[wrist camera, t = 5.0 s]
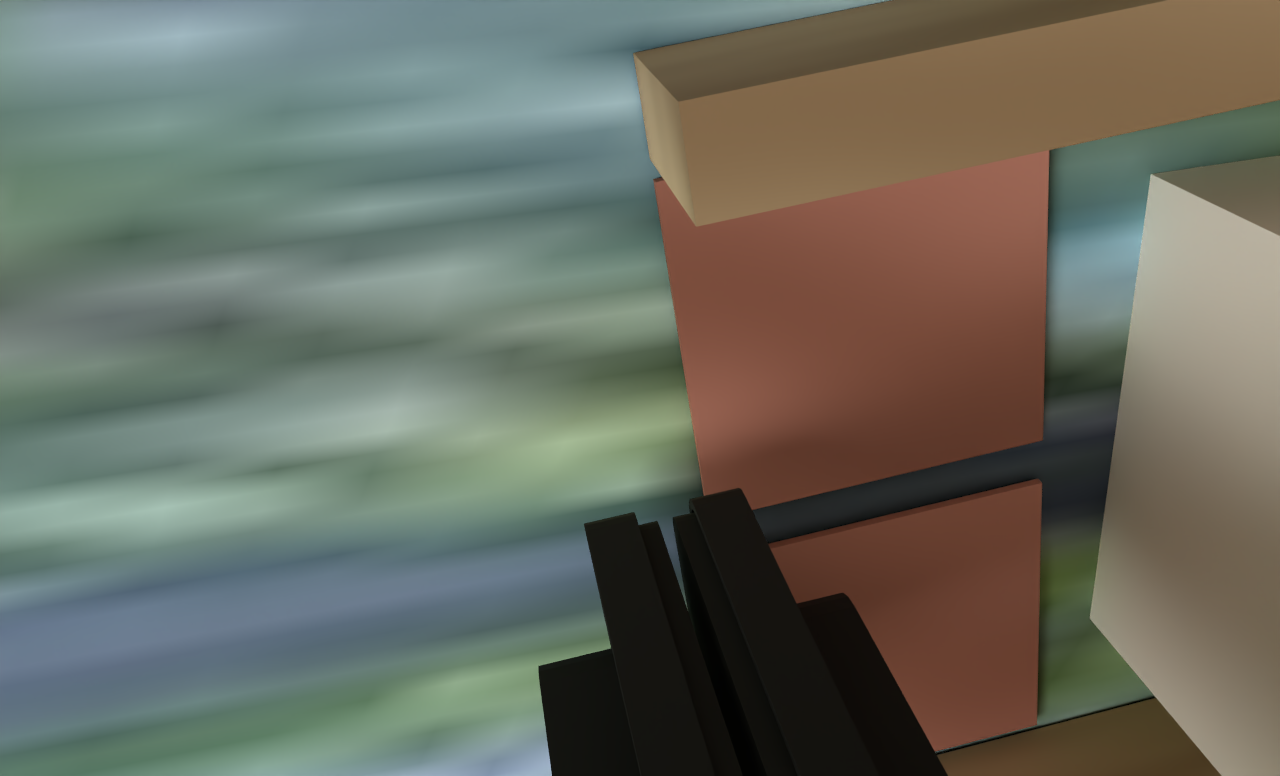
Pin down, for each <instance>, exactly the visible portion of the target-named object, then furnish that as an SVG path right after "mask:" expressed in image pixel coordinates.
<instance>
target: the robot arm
mask: <svg viewBox="0 0 1280 776" xmlns="http://www.w3.org/2000/svg"><path fill="white" fill-rule="evenodd" d="M689 509H690V513H689V514H685V515H681V516H676V517H673V526H674V532H675V538H676V543H677V549H678V555H679V561H680V567H681V572H682V578H683V584H684V590H685V595H686V601H687V607H688V610H687V607H686V604H685V601H684V598H683V595H682V592H681V589H680V586H679V583H678V580H677V577H676V574H675V571H674V568H673V565H672V562H671V559H670V556H669V553H668V550H667V547H666V544H665V541H664V538H663V535H662V532H661V529H660V527H659V524H658V522H657V521H655V522H651V523H646V524H642V525H638V522H637V519H636V516H635V513H634V512H632V513H628V514H624V515H619V516H615V517H611V518H607V519H602V520H598V521H594V522H589V523H585V524H584V527H585V531H586V536H587V540H588V545H589V549H590V554H591V558H592V563H593V567H594V572H595V576H596V581H597V585H598V590H599V594H600V599H601V604H602V608H603V613H604V617H605V622H606V626H607V631H608V635H609V640H610V644H611V649H607V650H603V651H599V652H595V653H591V654H586V655H582V656H578V657H574V658H570V659H566V660H562V661H558V662H553V663H549V664H545V665H541V666H539V680H540V688H541V696H542V703H543V711H544V718H545V726H546V733H547V741H548V748H549V756H550V763H551V771H552V776H948V775H947V773H946V771H945V769H944V767H943V765H942V764H941V762H940V760H939V758H938V756H937V755H936V753H935V751H934V749H933V747H932V745H931V744H930V742H929V740H928V738H927V736H926V735H925V733H924V731H923V729H922V727H921V726H920V724H919V722H918V720H917V718H916V716H915V715H914V713H913V711H912V709H911V707H910V706H909V704H908V702H907V700H906V698H905V696H904V695H903V693H902V691H901V689H900V687H899V686H898V684H897V682H896V680H895V678H894V677H893V675H892V673H891V671H890V669H889V667H888V666H887V664H886V662H885V660H884V658H883V657H882V655H881V653H880V651H879V649H878V648H877V646H876V644H875V642H874V640H873V638H872V637H871V635H870V633H869V631H868V629H867V628H866V626H865V624H864V622H863V620H862V618H861V617H860V615H859V613H858V611H857V609H856V608H855V606H854V604H853V603H852V601H851V600H850V598H849V597H848V596H847V595H846V594H844V593H843V592H842V593H838V594H834V595H830V596H826V597H822V598H818V599H813V600H809V601H805V602H801V603H796V601H795V599H794V597H793V595H792V593H791V591H790V589H789V587H788V584H787V582H786V580H785V578H784V576H783V574H782V572H781V570H780V568H779V566H778V564H777V561H776V559H775V557H774V555H773V553H772V551H771V549H770V547H769V545H768V543H767V541H766V538H765V536H764V534H763V532H762V530H761V528H760V526H759V524H758V522H757V520H756V518H755V515H754V513H753V511H752V509H751V507H750V505H749V503H748V501H747V499H746V497H745V495H744V493H743V491H742V489H740V488H736V489H731V490H727V491H723V492H718V493H714V494H710V495H705V496H701V497H697V498H693V499H690V500H689Z"/></svg>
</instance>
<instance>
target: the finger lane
mask: <svg viewBox="0 0 1280 776" xmlns="http://www.w3.org/2000/svg"><path fill="white" fill-rule="evenodd" d="M633 55H634V61H635V68H636V74H637V80H638V86H639V93H640V99H641V105H642V111H643V118H644V124H645V130H646V137H647V143H648V149H649V155H650V160H651V161H652V163H653V164H654V166H655V167H656V169H657V170H658V171H659V173H660V174H661V176H662V177H661V178H657V179H653V180H654V187H655V193H656V199H657V205H658V212H659V218H660V224H661V230H662V237H663V243H664V249H665V256H666V262H667V268H668V274H669V281H670V287H671V293H672V299H673V306H674V312H675V318H676V324H677V331H678V337H679V343H680V349H681V356H682V362H683V368H684V374H685V381H686V387H687V393H688V400H689V406H690V412H691V418H692V425H693V431H694V437H695V443H696V450H697V456H698V462H699V468H700V475H701V481H702V487H703V493H704V496H705V495H710V494H714V493H718V492H723V491H727V490H731V489H736V488H740V489H742V491H743V493H744V495H745V497H746V499H747V501H748V503H749V505H750V507H751V509H752V510H754V509H758V508H762V507H767V506H771V505H775V504H779V503H783V502H788V501H792V500H796V499H800V498H804V497H808V496H813V495H817V494H821V493H825V492H829V491H833V490H838V489H842V488H846V487H850V486H854V485H859V484H863V483H867V482H871V481H875V480H879V479H884V478H888V477H892V476H896V475H900V474H904V473H909V472H913V471H917V470H921V469H925V468H930V467H934V466H938V465H942V464H946V463H950V462H955V461H959V460H963V459H967V458H971V457H975V456H980V455H984V454H988V453H992V452H996V451H1001V450H1005V449H1009V448H1013V447H1017V446H1021V445H1026V444H1030V443H1034V442H1038V441H1042V440H1043V415H1044V369H1045V323H1046V277H1047V231H1048V185H1049V150H1052V149H1056V148H1061V147H1066V146H1070V145H1075V144H1079V143H1084V142H1089V141H1093V140H1098V139H1102V138H1107V137H1112V136H1116V135H1121V134H1125V133H1130V132H1135V131H1139V130H1144V129H1149V128H1153V127H1158V126H1162V125H1167V124H1172V123H1176V122H1181V121H1185V120H1190V119H1195V118H1199V117H1204V116H1208V115H1213V114H1218V113H1222V112H1227V111H1231V110H1236V109H1241V108H1245V107H1250V106H1254V105H1259V104H1264V103H1268V102H1273V101H1277V100H1280V0H892V1H887V2H882V3H877V4H872V5H867V6H862V7H857V8H852V9H847V10H843V11H838V12H833V13H828V14H823V15H818V16H813V17H808V18H803V19H798V20H793V21H788V22H783V23H779V24H774V25H769V26H764V27H759V28H754V29H749V30H744V31H739V32H734V33H729V34H724V35H720V36H715V37H710V38H705V39H700V40H695V41H690V42H685V43H680V44H675V45H670V46H665V47H660V48H656V49H651V50H646V51H641V52H636V53H633ZM1041 507H1042V482H1041V481H1040V480H1039V479H1034V480H1030V481H1026V482H1021V483H1017V484H1013V485H1009V486H1005V487H1001V488H997V489H993V490H988V491H984V492H980V493H976V494H972V495H968V496H964V497H960V498H955V499H951V500H947V501H943V502H939V503H935V504H931V505H927V506H922V507H918V508H914V509H910V510H906V511H902V512H898V513H894V514H889V515H885V516H881V517H877V518H873V519H869V520H865V521H861V522H856V523H852V524H848V525H844V526H840V527H836V528H832V529H827V530H823V531H819V532H815V533H811V534H807V535H803V536H799V537H794V538H790V539H786V540H782V541H778V542H774V543H770V544H768V545H769V547H770V549H771V551H772V553H773V555H774V557H775V559H776V561H777V564H778V566H779V568H780V570H781V572H782V574H783V576H784V578H785V580H786V582H787V584H788V587H789V589H790V591H791V593H792V595H793V597H794V599H795V601H796V603H801V602H805V601H809V600H813V599H818V598H822V597H826V596H830V595H834V594H838V593H842V592H843V593H844V594H846V595H847V596H848V597H849V598H850V600H851V601H852V603H853V604H854V606H855V608H856V609H857V611H858V613H859V615H860V617H861V618H862V620H863V622H864V624H865V626H866V628H867V629H868V631H869V633H870V635H871V637H872V638H873V640H874V642H875V644H876V646H877V648H878V649H879V651H880V653H881V655H882V657H883V658H884V660H885V662H886V664H887V666H888V667H889V669H890V671H891V673H892V675H893V677H894V678H895V680H896V682H897V684H898V686H899V687H900V689H901V691H902V693H903V695H904V696H905V698H906V700H907V702H908V704H909V706H910V707H911V709H912V711H913V713H914V715H915V716H916V718H917V720H918V722H919V724H920V726H921V727H922V729H923V731H924V733H925V735H926V736H927V738H928V740H929V742H930V744H931V745H932V747H933V749H934V751H939V750H943V749H946V748H950V747H954V746H958V745H962V744H966V743H969V742H973V741H977V740H981V739H985V738H989V737H992V736H996V735H1000V734H1004V733H1008V732H1011V731H1015V730H1019V729H1023V728H1027V727H1031V726H1034V725H1037V692H1038V645H1039V599H1040V553H1041ZM937 756H938V758H939V760H940V762H941V764H942V765H943V767H944V769H945V771H946V773H947V775H948V776H1221V774H1220V773H1219V772H1218V771H1217V770H1216V768H1215V767H1214V766H1213V765H1212V764H1211V762H1210V761H1209V760H1208V759H1207V758H1206V757H1205V755H1204V754H1203V753H1202V752H1201V751H1200V749H1199V748H1198V747H1197V746H1196V745H1195V743H1194V742H1193V741H1192V740H1191V739H1190V737H1189V736H1188V735H1187V734H1186V733H1185V731H1184V730H1183V729H1182V728H1181V727H1180V726H1179V724H1178V723H1177V722H1176V721H1175V720H1174V718H1173V717H1172V716H1171V715H1170V714H1169V712H1168V711H1167V710H1166V709H1165V708H1164V706H1163V705H1162V704H1161V703H1160V702H1159V701H1158V699H1157V698H1154V699H1150V700H1146V701H1142V702H1138V703H1134V704H1131V705H1127V706H1123V707H1119V708H1115V709H1112V710H1108V711H1104V712H1100V713H1096V714H1092V715H1089V716H1085V717H1081V718H1077V719H1073V720H1069V721H1066V722H1062V723H1058V724H1054V725H1050V726H1047V727H1043V728H1039V729H1035V730H1031V731H1027V732H1024V733H1020V734H1016V735H1012V736H1008V737H1005V738H1001V739H997V740H993V741H989V742H985V743H982V744H978V745H974V746H970V747H966V748H962V749H959V750H955V751H951V752H947V753H943V754H940V755H937Z"/></svg>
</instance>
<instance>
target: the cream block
mask: <svg viewBox="0 0 1280 776" xmlns="http://www.w3.org/2000/svg"><path fill="white" fill-rule="evenodd" d="M1090 619H1091V621H1092V622H1093V623H1094V624H1095V625H1096V627H1097V628H1098V629H1099V630H1100V631H1101V633H1102V634H1103V635H1104V636H1105V637H1106V639H1107V640H1108V641H1109V642H1110V643H1111V644H1112V646H1113V647H1114V648H1115V649H1116V650H1117V652H1118V653H1119V654H1120V655H1121V656H1122V658H1123V659H1124V660H1125V661H1126V662H1127V664H1128V665H1129V666H1130V667H1131V668H1132V670H1133V671H1134V672H1135V673H1136V674H1137V675H1138V677H1139V678H1140V679H1141V680H1142V681H1143V683H1144V684H1145V685H1146V686H1147V687H1148V689H1149V690H1150V691H1151V692H1152V693H1153V695H1154V696H1155V697H1156V698H1157V699H1158V701H1159V702H1160V703H1161V704H1162V705H1163V706H1164V708H1165V709H1166V710H1167V711H1168V712H1169V714H1170V715H1171V716H1172V717H1173V718H1174V720H1175V721H1176V722H1177V723H1178V724H1179V726H1180V727H1181V728H1182V729H1183V730H1184V731H1185V733H1186V734H1187V735H1188V736H1189V737H1190V739H1191V740H1192V741H1193V742H1194V743H1195V745H1196V746H1197V747H1198V748H1199V749H1200V751H1201V752H1202V753H1203V754H1204V755H1205V757H1206V758H1207V759H1208V760H1209V761H1210V762H1211V764H1212V765H1213V766H1214V767H1215V768H1216V770H1217V771H1218V772H1219V773H1220V774H1221V776H1280V155H1278V156H1272V157H1265V158H1258V159H1251V160H1244V161H1237V162H1231V163H1224V164H1217V165H1210V166H1203V167H1196V168H1189V169H1183V170H1176V171H1169V172H1162V173H1155V174H1151V178H1150V185H1149V192H1148V199H1147V206H1146V214H1145V221H1144V228H1143V235H1142V243H1141V250H1140V257H1139V264H1138V272H1137V279H1136V286H1135V293H1134V301H1133V308H1132V315H1131V322H1130V330H1129V337H1128V344H1127V351H1126V359H1125V366H1124V373H1123V380H1122V388H1121V395H1120V402H1119V409H1118V417H1117V424H1116V431H1115V438H1114V446H1113V453H1112V460H1111V467H1110V475H1109V482H1108V489H1107V496H1106V503H1105V511H1104V518H1103V525H1102V532H1101V540H1100V547H1099V554H1098V561H1097V569H1096V576H1095V583H1094V590H1093V598H1092V605H1091V612H1090Z"/></svg>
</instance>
